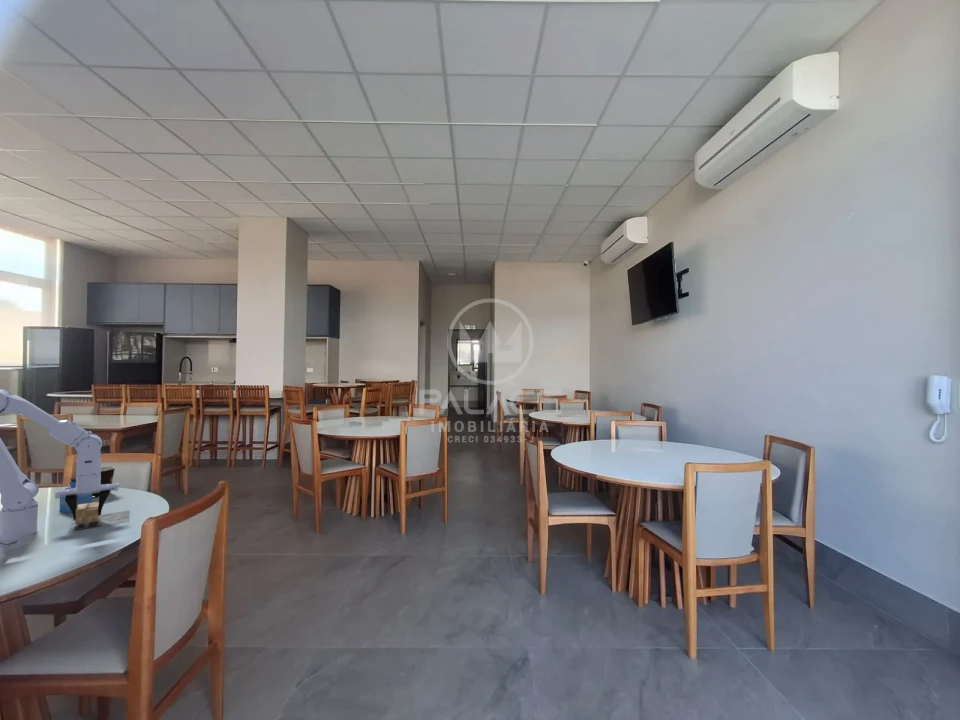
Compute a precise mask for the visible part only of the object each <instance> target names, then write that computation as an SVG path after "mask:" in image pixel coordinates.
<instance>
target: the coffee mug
mask: <svg viewBox="0 0 960 720" xmlns="http://www.w3.org/2000/svg"><path fill="white" fill-rule="evenodd" d="M115 468H116V467H115V466H112V465H111V466H101V485H102V484H113V481H114V480H113V479H114V474H115ZM110 492H112V491H110ZM99 493H100V492H98V493H92V496H99Z"/></svg>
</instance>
